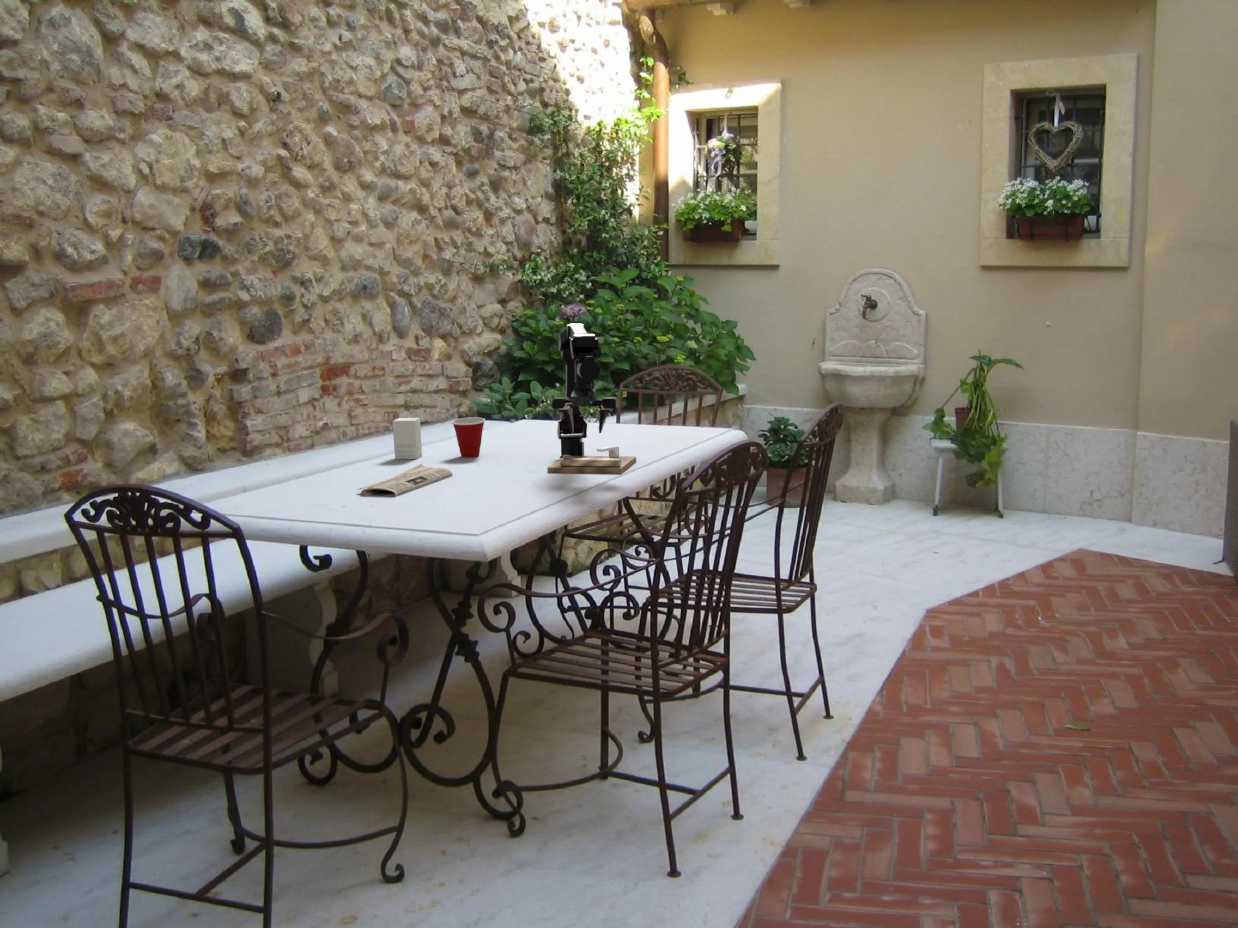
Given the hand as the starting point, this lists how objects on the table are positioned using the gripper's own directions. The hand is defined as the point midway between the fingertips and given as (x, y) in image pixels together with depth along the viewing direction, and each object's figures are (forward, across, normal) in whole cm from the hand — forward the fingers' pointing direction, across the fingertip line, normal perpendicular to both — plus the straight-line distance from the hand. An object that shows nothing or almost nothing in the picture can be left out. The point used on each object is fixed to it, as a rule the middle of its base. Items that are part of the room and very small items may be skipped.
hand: (586, 433), depth 337 cm
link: (+10, -1, +6) cm, 12 cm away
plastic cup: (+12, -46, +33) cm, 58 cm away
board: (+12, -2, +14) cm, 19 cm away
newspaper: (+13, -47, -20) cm, 53 cm away
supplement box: (+12, -66, +28) cm, 72 cm away
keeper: (+10, +2, +21) cm, 24 cm away
